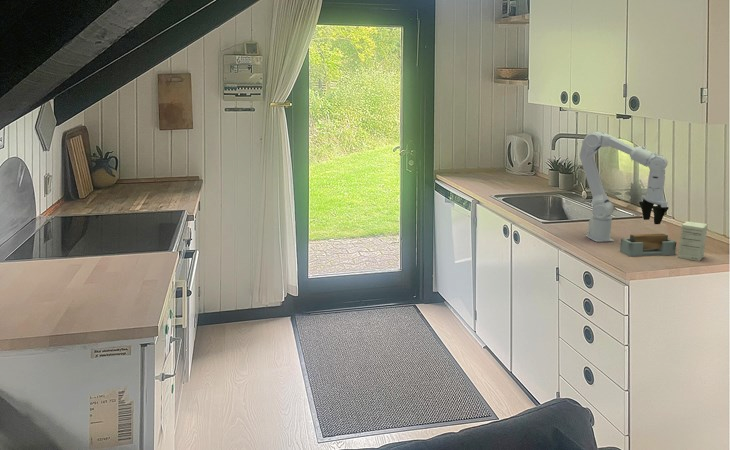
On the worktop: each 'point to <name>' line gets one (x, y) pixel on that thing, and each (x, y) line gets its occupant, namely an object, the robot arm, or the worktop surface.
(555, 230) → the worktop surface
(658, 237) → the tan brown long block
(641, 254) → the green tray
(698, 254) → the supplement box
